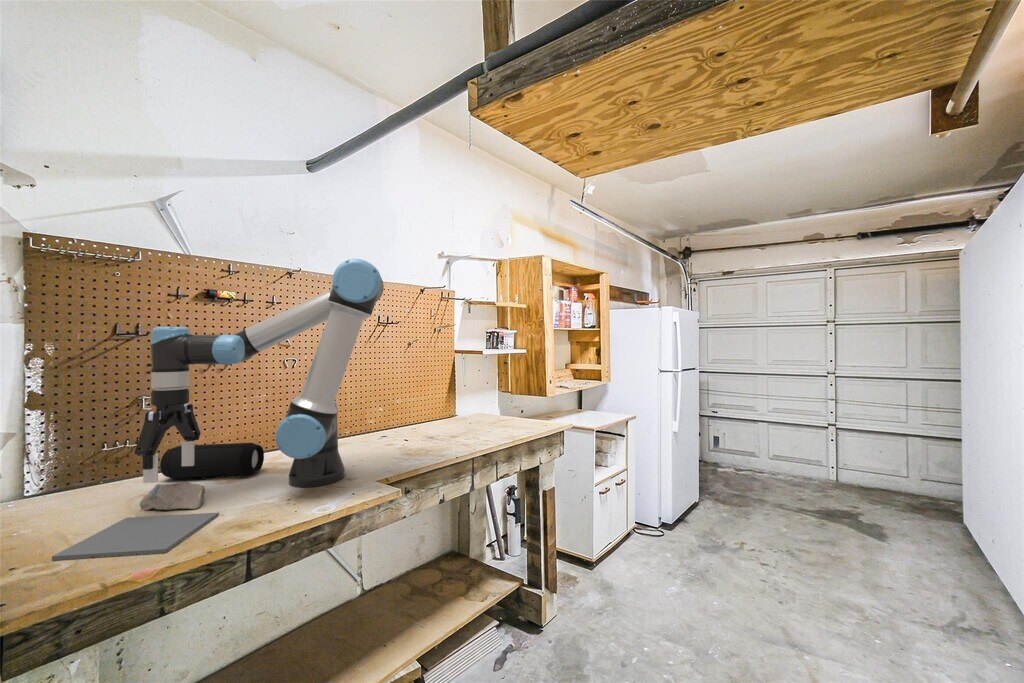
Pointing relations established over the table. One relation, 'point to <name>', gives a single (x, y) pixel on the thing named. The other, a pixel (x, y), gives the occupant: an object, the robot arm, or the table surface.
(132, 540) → the rubber mat
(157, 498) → the concrete fragment
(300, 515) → the table surface
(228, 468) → the portable speaker
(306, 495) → the table surface
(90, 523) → the table surface
